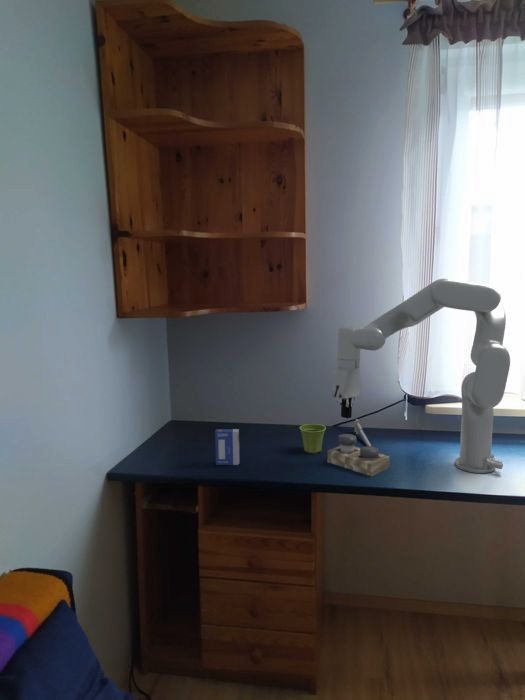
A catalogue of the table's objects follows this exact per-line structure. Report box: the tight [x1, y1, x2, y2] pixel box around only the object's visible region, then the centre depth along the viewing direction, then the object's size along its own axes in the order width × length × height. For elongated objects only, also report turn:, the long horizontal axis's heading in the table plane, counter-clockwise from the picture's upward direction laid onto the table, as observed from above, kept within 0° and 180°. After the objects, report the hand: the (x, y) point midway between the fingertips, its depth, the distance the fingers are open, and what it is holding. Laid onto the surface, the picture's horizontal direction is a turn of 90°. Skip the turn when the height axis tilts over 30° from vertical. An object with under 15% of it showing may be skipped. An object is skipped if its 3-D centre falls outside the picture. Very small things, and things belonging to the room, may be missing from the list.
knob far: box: [337, 433, 357, 454], centre depth 181 cm, size 6×6×6 cm
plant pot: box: [299, 423, 327, 454], centre depth 192 cm, size 9×9×9 cm
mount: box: [326, 445, 391, 477], centre depth 178 cm, size 18×10×4 cm, turn 44°
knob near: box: [359, 445, 380, 461], centre depth 175 cm, size 6×6×6 cm
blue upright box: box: [214, 428, 240, 466], centre depth 180 cm, size 8×3×12 cm, turn 90°
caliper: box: [354, 418, 373, 447], centre depth 203 cm, size 20×1×6 cm, turn 6°
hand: (346, 417), depth 179 cm, fingers closed
